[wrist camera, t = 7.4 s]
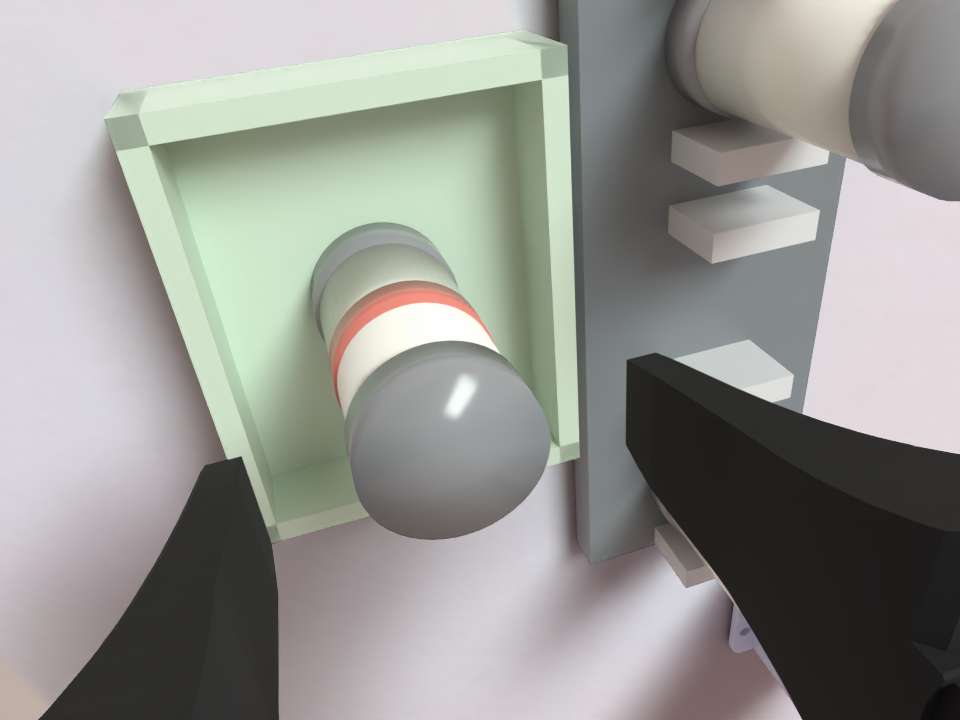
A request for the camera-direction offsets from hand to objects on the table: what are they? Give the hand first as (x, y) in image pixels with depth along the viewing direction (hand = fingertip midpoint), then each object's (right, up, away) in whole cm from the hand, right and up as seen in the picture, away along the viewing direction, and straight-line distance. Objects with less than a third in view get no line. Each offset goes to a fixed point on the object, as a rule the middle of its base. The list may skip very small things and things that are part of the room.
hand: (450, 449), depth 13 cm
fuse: (+7, +10, +4) cm, 12 cm away
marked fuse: (-2, +4, +6) cm, 7 cm away
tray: (-2, +4, +6) cm, 8 cm away
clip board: (+7, +4, +9) cm, 12 cm away
